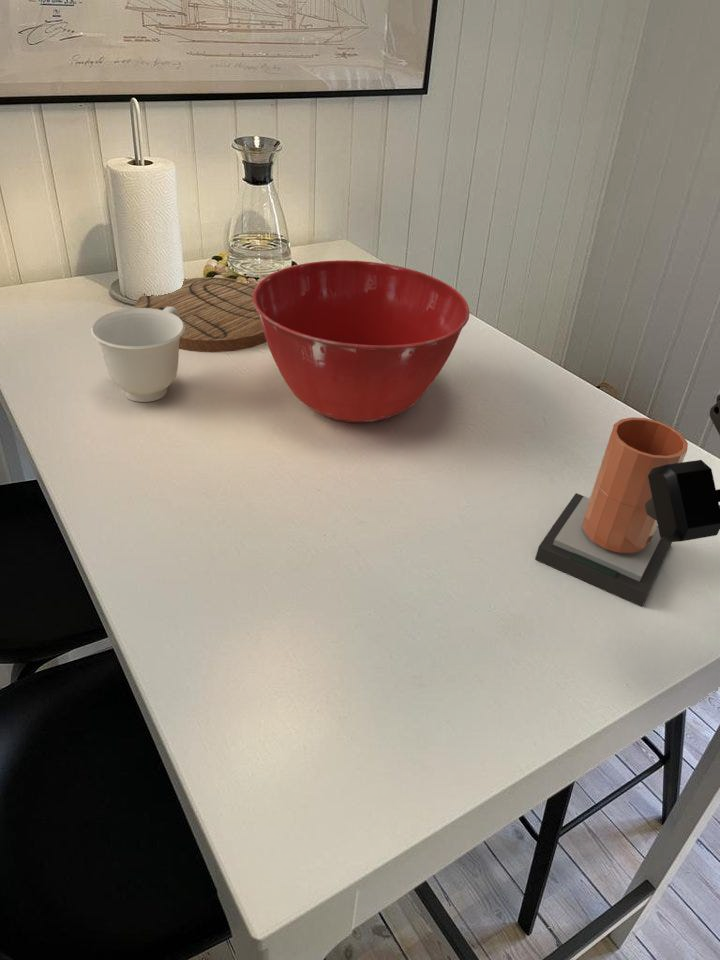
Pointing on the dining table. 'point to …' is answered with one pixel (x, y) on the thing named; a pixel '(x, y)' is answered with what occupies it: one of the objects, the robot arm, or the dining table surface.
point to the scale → (600, 556)
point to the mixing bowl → (358, 334)
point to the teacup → (140, 349)
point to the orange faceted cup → (629, 483)
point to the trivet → (213, 314)
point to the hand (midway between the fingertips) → (688, 502)
